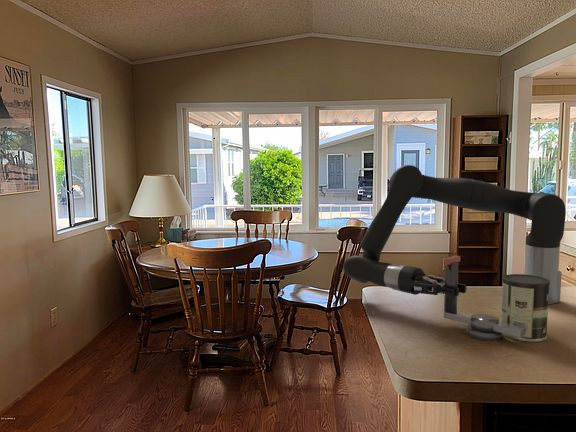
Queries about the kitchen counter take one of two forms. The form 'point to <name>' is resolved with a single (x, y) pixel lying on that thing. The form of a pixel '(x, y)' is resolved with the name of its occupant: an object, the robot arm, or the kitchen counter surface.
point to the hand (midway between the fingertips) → (461, 290)
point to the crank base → (483, 334)
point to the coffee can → (526, 305)
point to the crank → (476, 321)
